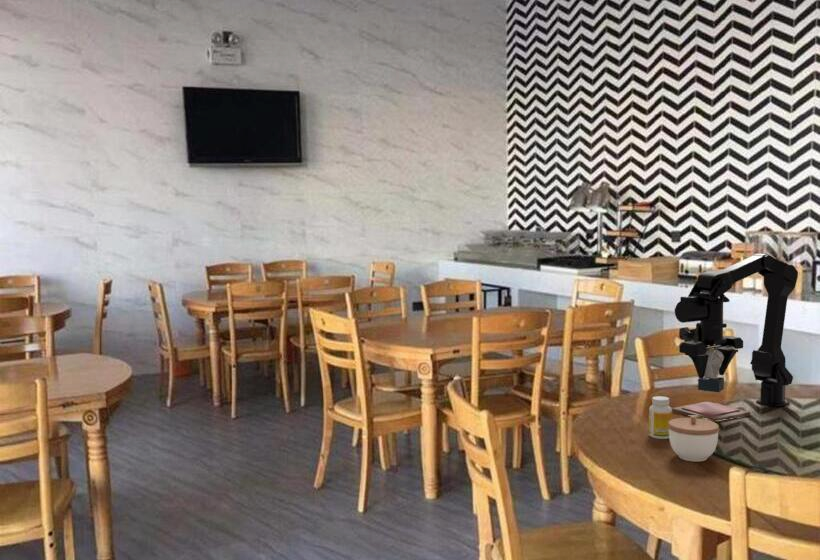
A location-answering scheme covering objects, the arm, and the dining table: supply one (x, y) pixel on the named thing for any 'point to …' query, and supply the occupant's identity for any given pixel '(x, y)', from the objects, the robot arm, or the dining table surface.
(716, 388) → the watch
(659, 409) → the supplement bottle
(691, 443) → the lidded jar
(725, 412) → the pink square tray
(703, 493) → the dining table surface
